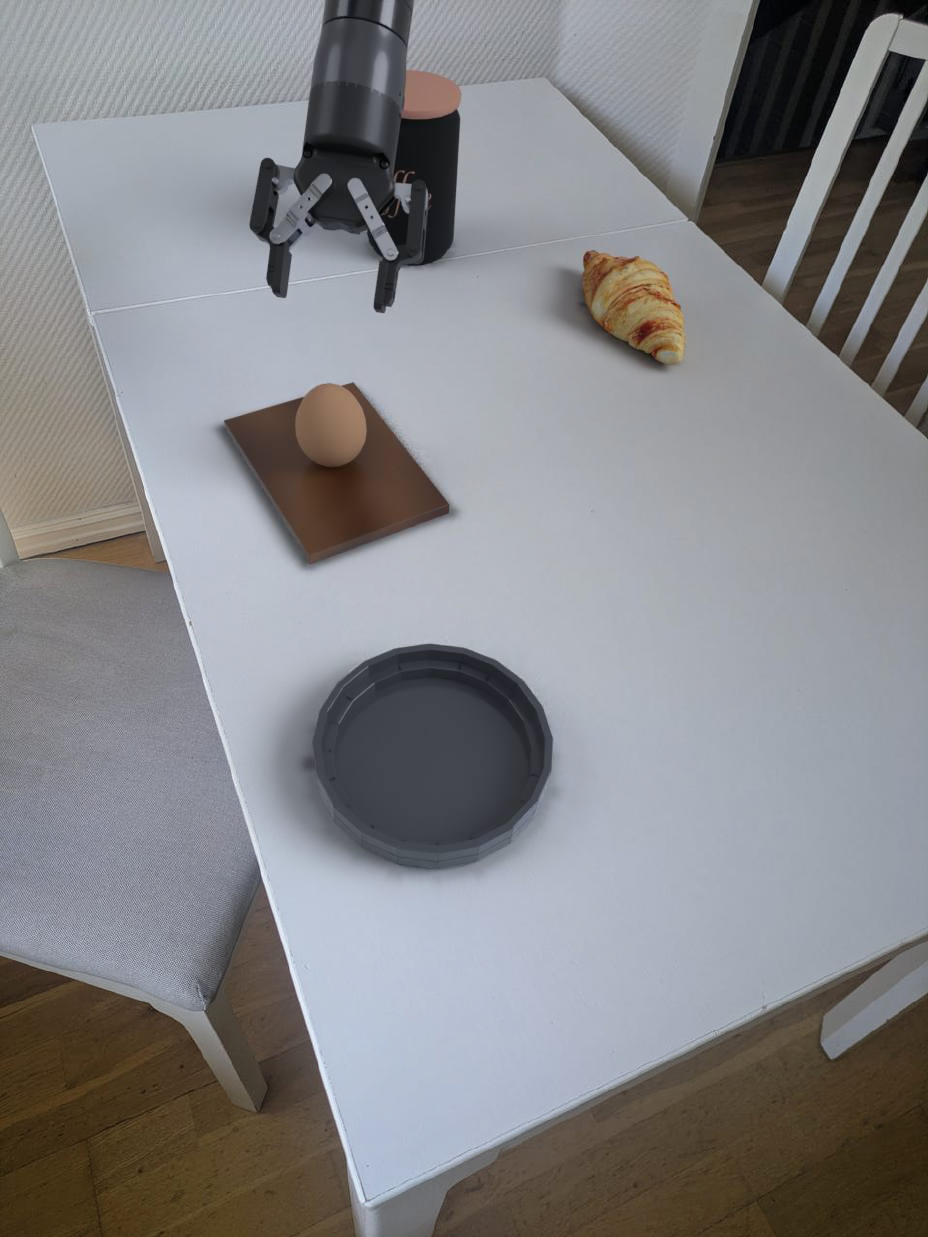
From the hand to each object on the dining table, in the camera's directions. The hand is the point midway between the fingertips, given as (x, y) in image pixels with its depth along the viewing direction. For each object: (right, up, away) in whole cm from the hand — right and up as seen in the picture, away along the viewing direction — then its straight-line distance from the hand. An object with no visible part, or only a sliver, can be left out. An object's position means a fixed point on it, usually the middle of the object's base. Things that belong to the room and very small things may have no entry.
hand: (329, 303), depth 75 cm
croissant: (+30, +8, +30) cm, 43 cm away
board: (-1, -12, +11) cm, 17 cm away
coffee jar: (+5, +20, +37) cm, 43 cm away
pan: (+9, -37, -8) cm, 39 cm away
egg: (-1, -11, +10) cm, 15 cm away
